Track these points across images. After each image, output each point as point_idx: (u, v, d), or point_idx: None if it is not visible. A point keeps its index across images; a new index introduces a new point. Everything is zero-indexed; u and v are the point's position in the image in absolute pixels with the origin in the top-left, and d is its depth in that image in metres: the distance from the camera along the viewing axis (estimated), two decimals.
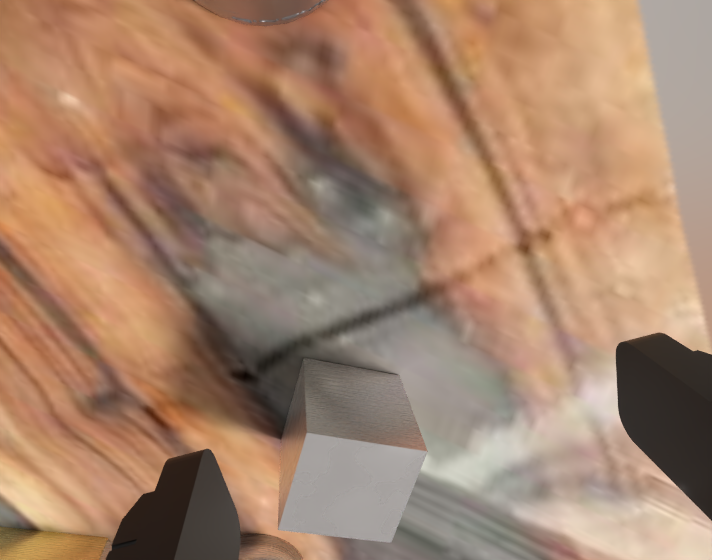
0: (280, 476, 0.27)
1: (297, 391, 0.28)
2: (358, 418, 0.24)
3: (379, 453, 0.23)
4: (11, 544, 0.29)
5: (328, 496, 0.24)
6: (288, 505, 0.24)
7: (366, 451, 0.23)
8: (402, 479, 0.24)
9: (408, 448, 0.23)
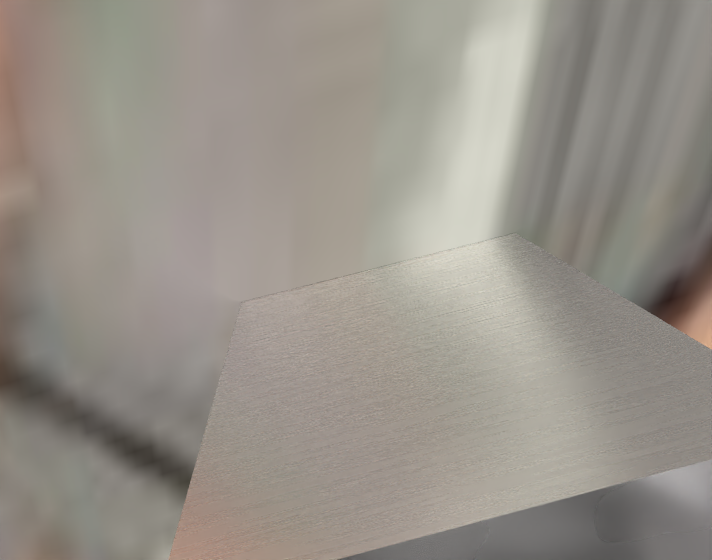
0: None
1: None
2: None
3: None
4: None
5: None
6: None
7: None
8: None
9: None
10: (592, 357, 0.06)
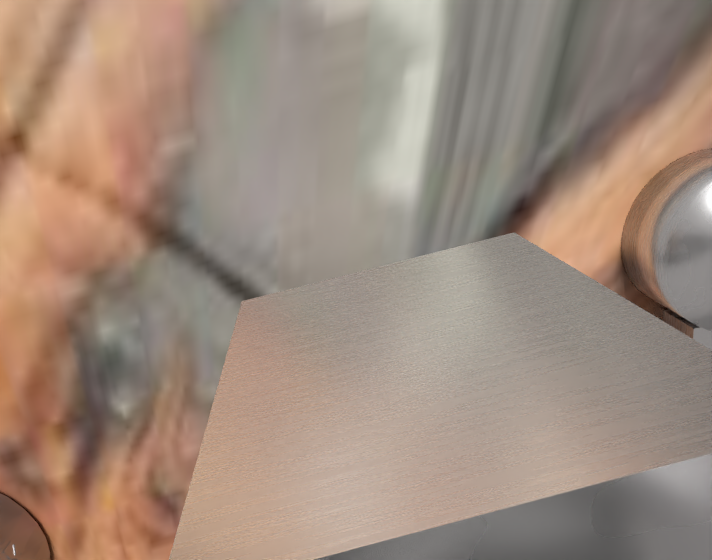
0: None
1: None
2: None
3: None
4: None
5: None
6: None
7: None
8: None
9: None
10: (589, 355, 0.06)
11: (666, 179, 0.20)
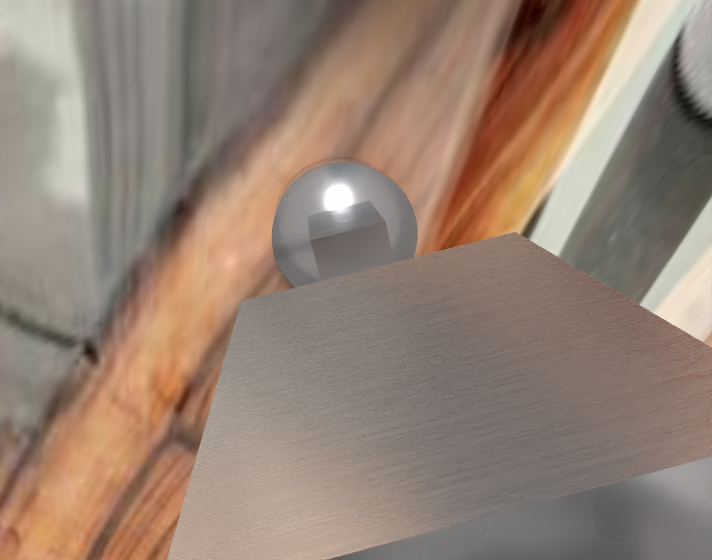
0: None
1: None
2: None
3: None
4: None
5: None
6: None
7: None
8: None
9: None
10: (592, 355, 0.06)
11: (289, 183, 0.25)
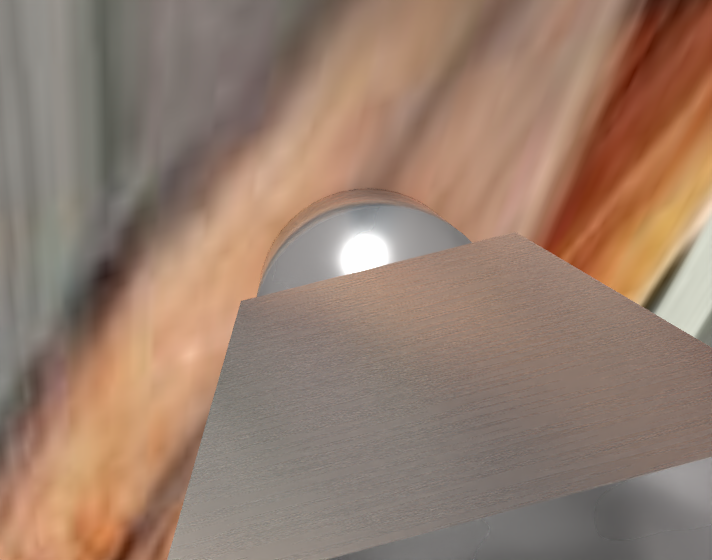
0: None
1: None
2: None
3: None
4: None
5: None
6: None
7: None
8: None
9: None
10: (592, 355, 0.06)
11: (283, 232, 0.15)
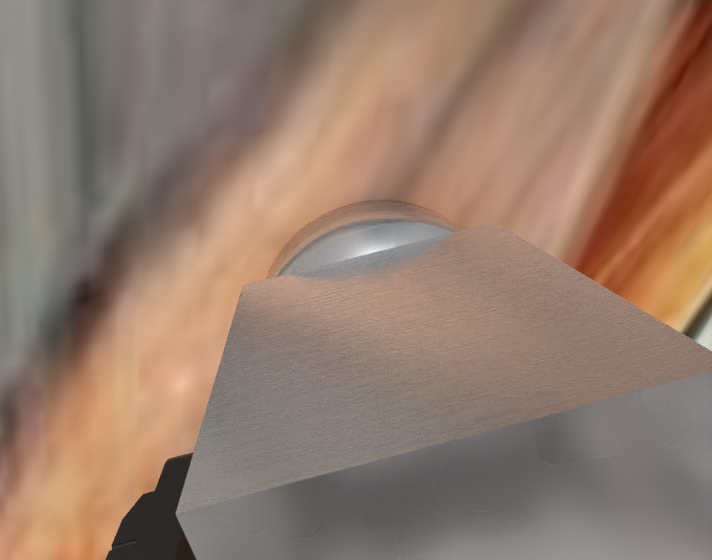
0: None
1: None
2: None
3: None
4: None
5: None
6: None
7: None
8: (367, 517, 0.05)
9: None
10: (547, 321, 0.07)
11: (286, 250, 0.13)
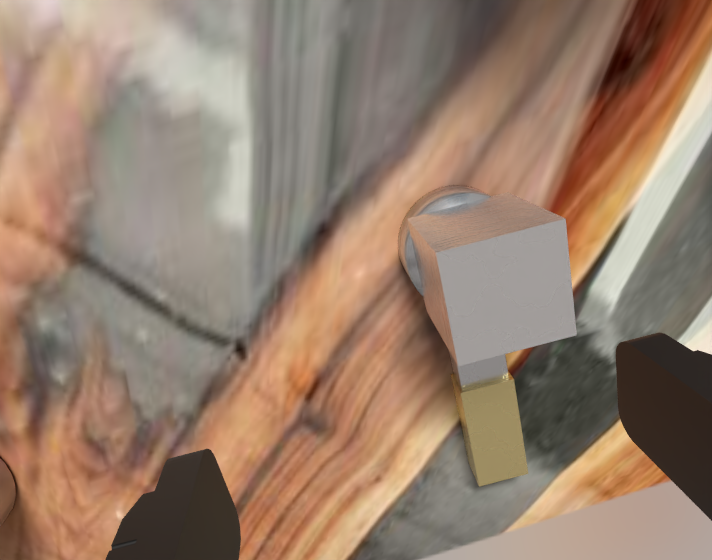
0: None
1: None
2: (439, 303, 0.24)
3: (456, 295, 0.22)
4: (466, 441, 0.36)
5: (522, 312, 0.23)
6: (543, 341, 0.24)
7: (458, 308, 0.23)
8: (478, 256, 0.22)
9: (439, 272, 0.22)
10: (523, 216, 0.23)
11: (415, 208, 0.30)
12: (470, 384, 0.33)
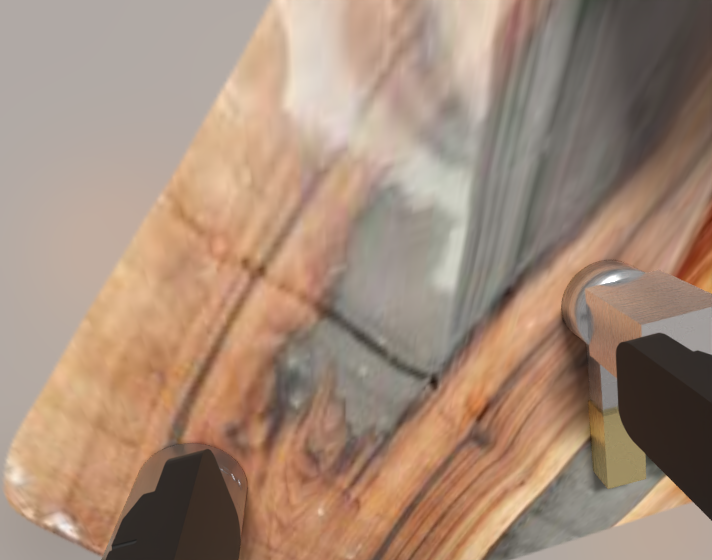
0: None
1: None
2: None
3: None
4: (598, 453, 0.45)
5: None
6: None
7: None
8: (668, 327, 0.32)
9: None
10: (691, 296, 0.33)
11: (581, 277, 0.40)
12: (610, 409, 0.43)
